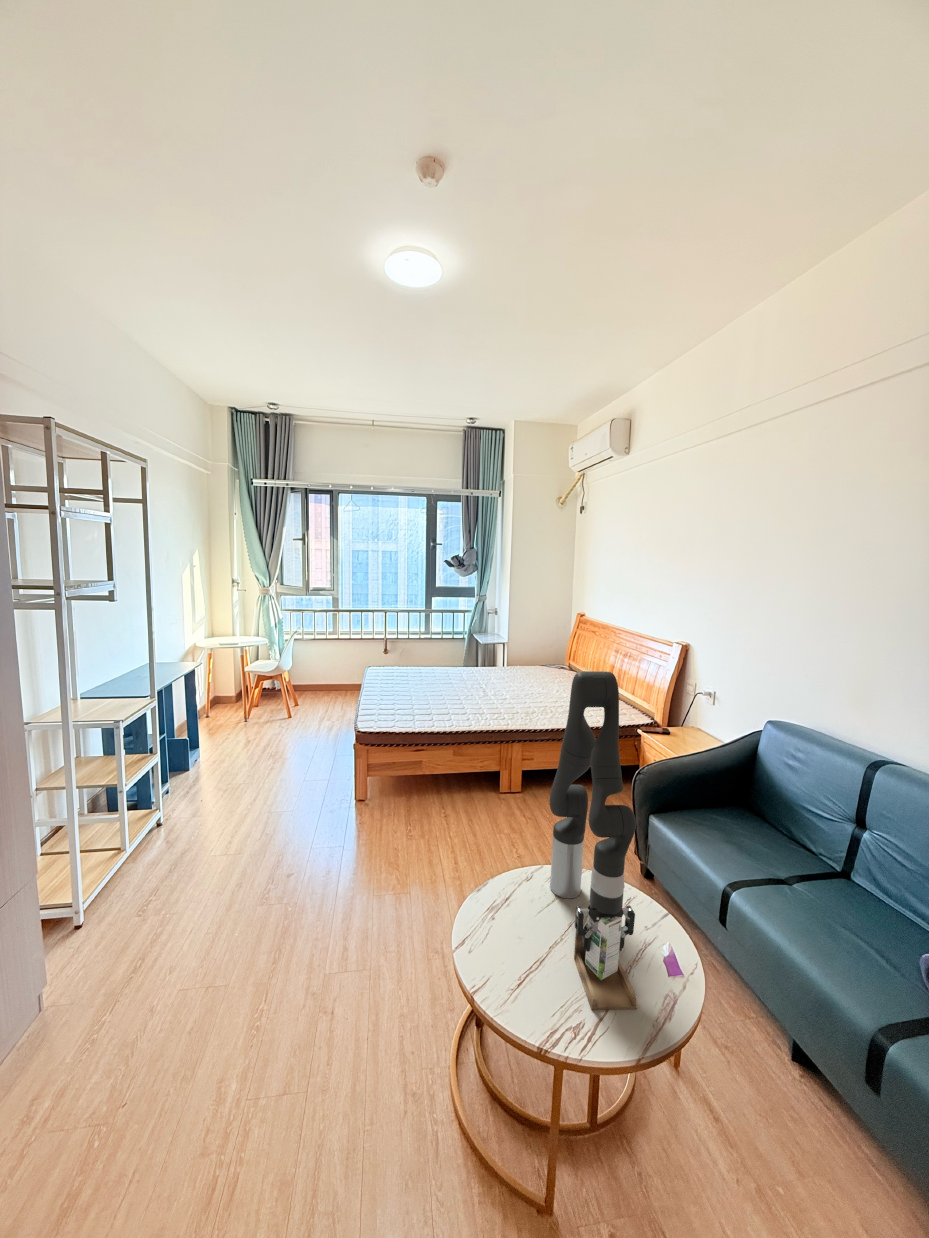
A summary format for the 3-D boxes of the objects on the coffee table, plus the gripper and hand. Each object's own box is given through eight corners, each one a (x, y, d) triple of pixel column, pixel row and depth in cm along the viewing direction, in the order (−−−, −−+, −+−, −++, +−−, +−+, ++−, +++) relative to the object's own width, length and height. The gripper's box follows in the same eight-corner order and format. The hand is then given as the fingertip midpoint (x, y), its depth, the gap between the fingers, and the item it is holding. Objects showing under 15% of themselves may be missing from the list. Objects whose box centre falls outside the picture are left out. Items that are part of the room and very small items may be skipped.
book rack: (573, 958, 123) (576, 922, 122) (614, 958, 124) (616, 921, 123) (591, 1009, 109) (594, 968, 108) (636, 1008, 110) (639, 967, 109)
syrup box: (583, 963, 120) (587, 909, 118) (601, 954, 122) (605, 901, 121) (600, 981, 115) (604, 925, 113) (618, 971, 117) (623, 916, 116)
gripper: (630, 875, 120) (625, 936, 122) (573, 875, 119) (569, 937, 121) (643, 896, 113) (637, 960, 115) (582, 896, 112) (577, 961, 114)
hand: (602, 948), depth 118 cm, fingers closed on syrup box, 7 cm apart
